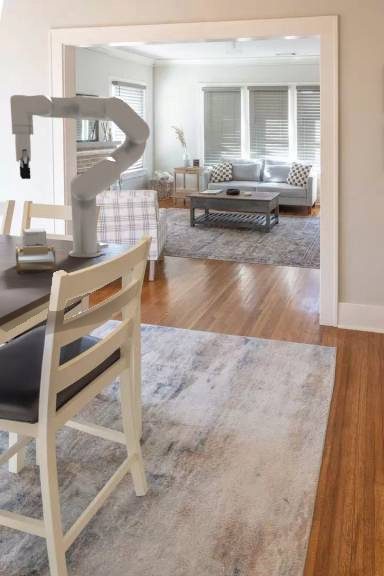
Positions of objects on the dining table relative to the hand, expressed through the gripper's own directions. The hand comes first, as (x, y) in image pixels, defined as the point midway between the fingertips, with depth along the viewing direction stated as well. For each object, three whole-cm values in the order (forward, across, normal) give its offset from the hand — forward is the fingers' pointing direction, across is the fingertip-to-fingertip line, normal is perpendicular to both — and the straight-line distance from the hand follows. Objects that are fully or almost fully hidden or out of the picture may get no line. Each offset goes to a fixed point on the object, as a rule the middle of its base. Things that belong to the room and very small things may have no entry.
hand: (25, 177), depth 215 cm
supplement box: (+29, +21, +1) cm, 36 cm away
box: (+30, +22, +1) cm, 37 cm away
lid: (+24, +34, 0) cm, 41 cm away
